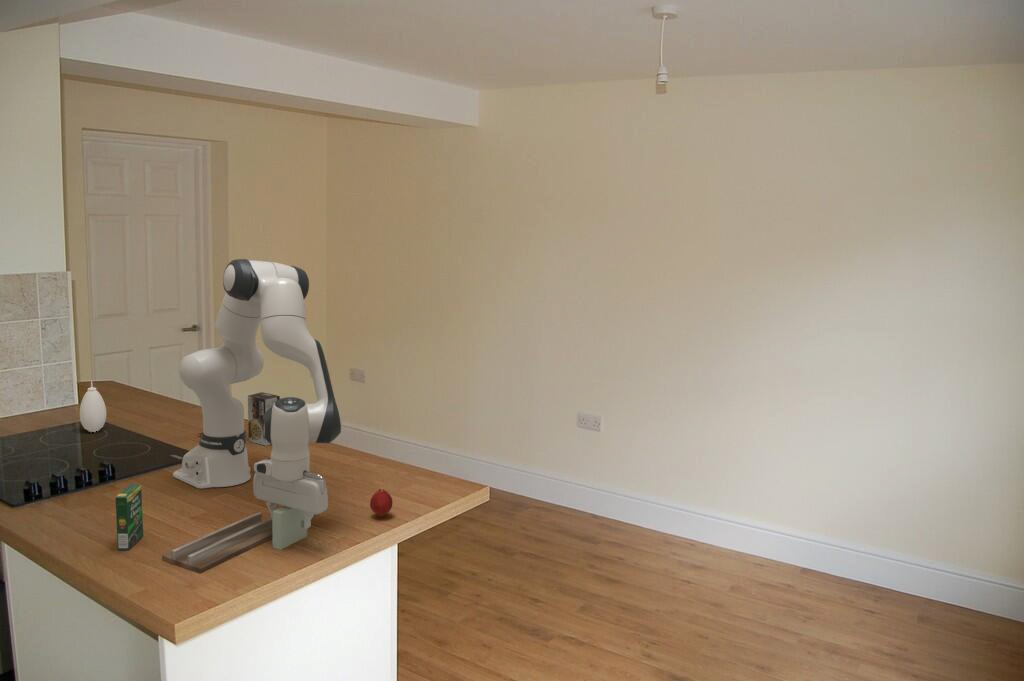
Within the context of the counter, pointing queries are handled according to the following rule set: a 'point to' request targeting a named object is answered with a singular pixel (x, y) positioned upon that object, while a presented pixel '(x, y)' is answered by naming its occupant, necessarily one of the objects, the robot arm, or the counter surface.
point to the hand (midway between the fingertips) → (290, 523)
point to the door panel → (287, 527)
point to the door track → (221, 544)
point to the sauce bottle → (92, 410)
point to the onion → (381, 502)
